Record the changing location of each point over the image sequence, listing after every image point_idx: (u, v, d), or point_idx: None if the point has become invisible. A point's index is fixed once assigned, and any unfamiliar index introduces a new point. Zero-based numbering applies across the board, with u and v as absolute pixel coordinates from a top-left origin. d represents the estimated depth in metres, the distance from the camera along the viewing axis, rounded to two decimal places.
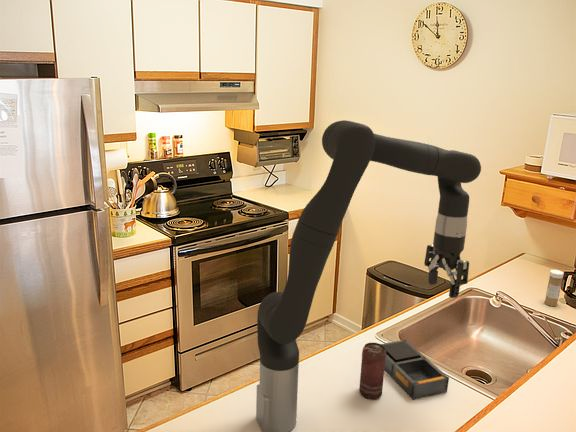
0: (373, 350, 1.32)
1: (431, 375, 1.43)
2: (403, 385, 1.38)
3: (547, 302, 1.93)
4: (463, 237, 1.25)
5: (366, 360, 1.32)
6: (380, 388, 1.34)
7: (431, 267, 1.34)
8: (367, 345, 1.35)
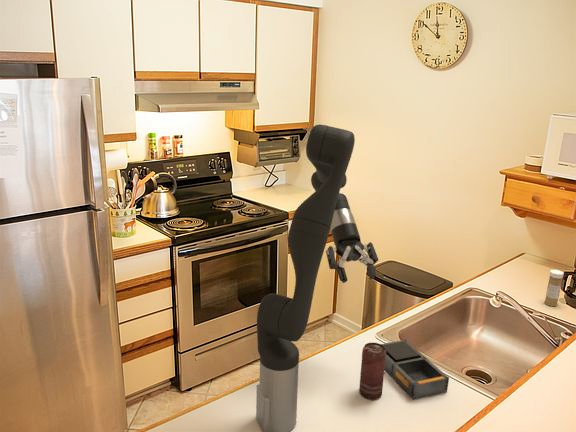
0: (373, 350, 1.32)
1: (431, 375, 1.43)
2: (403, 385, 1.38)
3: (547, 302, 1.93)
4: None
5: (366, 360, 1.32)
6: (380, 388, 1.34)
7: (342, 263, 1.39)
8: (367, 345, 1.35)
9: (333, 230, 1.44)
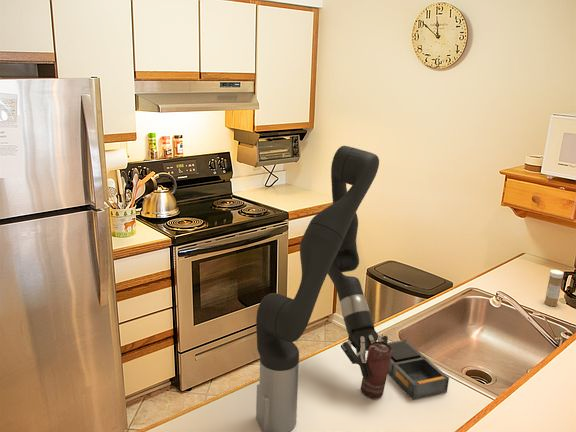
0: (379, 349, 1.32)
1: (431, 375, 1.43)
2: (403, 385, 1.38)
3: (547, 302, 1.93)
4: None
5: (372, 358, 1.32)
6: (382, 388, 1.34)
7: (364, 357, 1.33)
8: (374, 343, 1.35)
9: (346, 318, 1.38)
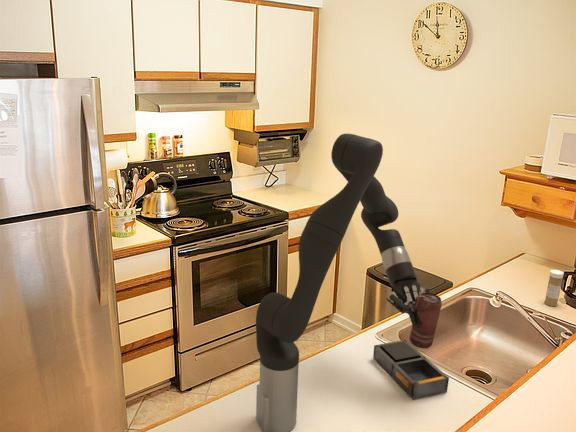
0: (429, 299, 1.33)
1: (431, 375, 1.43)
2: (403, 385, 1.38)
3: (547, 302, 1.93)
4: None
5: (420, 308, 1.33)
6: (430, 338, 1.35)
7: (412, 306, 1.35)
8: (424, 294, 1.35)
9: (388, 269, 1.39)
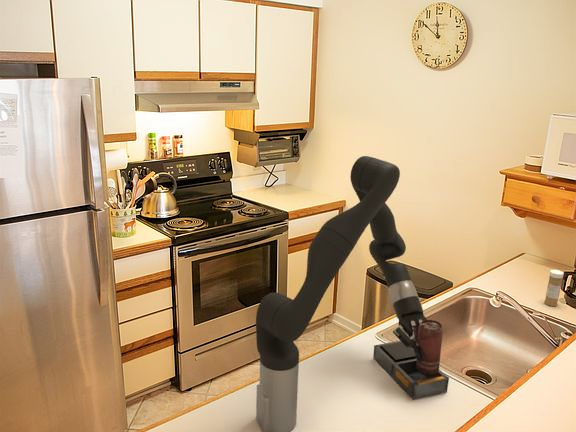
0: (429, 327, 1.36)
1: (431, 375, 1.43)
2: (403, 385, 1.38)
3: (547, 302, 1.93)
4: None
5: (422, 336, 1.36)
6: (436, 364, 1.37)
7: (417, 340, 1.38)
8: (425, 322, 1.39)
9: (396, 303, 1.42)
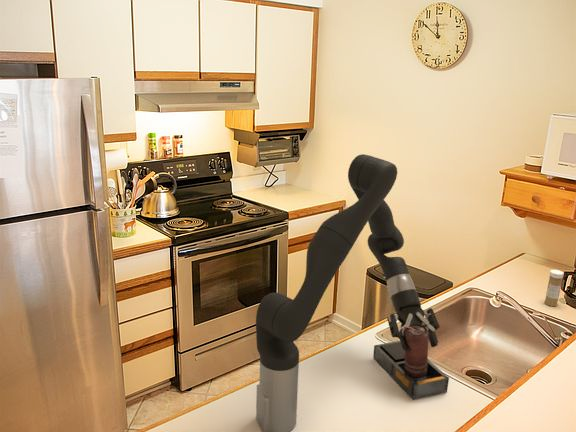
0: (414, 331, 1.37)
1: (431, 375, 1.43)
2: (403, 385, 1.38)
3: (547, 302, 1.93)
4: None
5: None
6: (419, 369, 1.38)
7: None
8: (414, 325, 1.39)
9: (394, 296, 1.43)
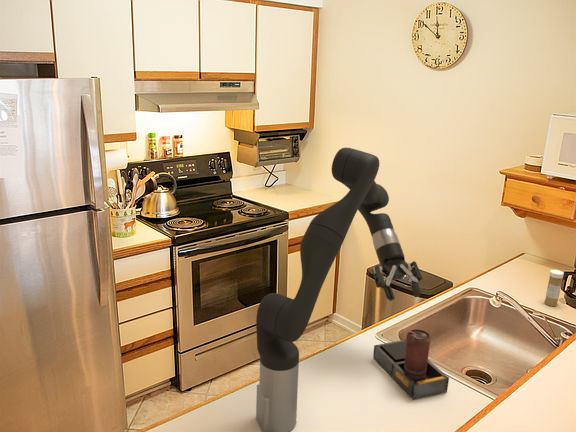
0: (416, 335, 1.38)
1: (431, 375, 1.43)
2: (403, 385, 1.38)
3: (547, 302, 1.93)
4: None
5: (407, 342, 1.39)
6: (418, 375, 1.39)
7: (389, 281, 1.45)
8: (416, 331, 1.41)
9: (378, 249, 1.50)
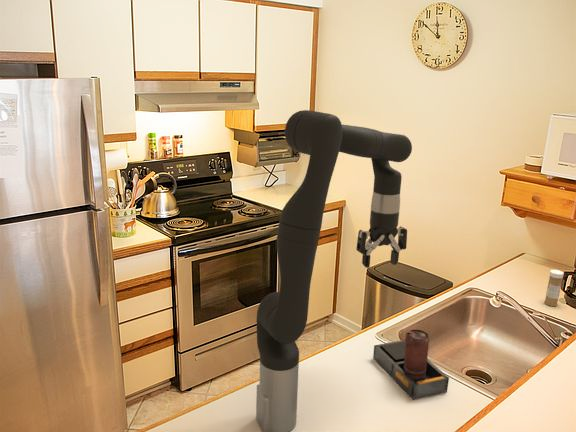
0: (415, 336, 1.38)
1: (431, 375, 1.43)
2: (403, 385, 1.38)
3: (547, 302, 1.93)
4: None
5: (406, 343, 1.39)
6: (418, 375, 1.38)
7: (370, 251, 1.36)
8: (415, 331, 1.41)
9: (374, 213, 1.34)
